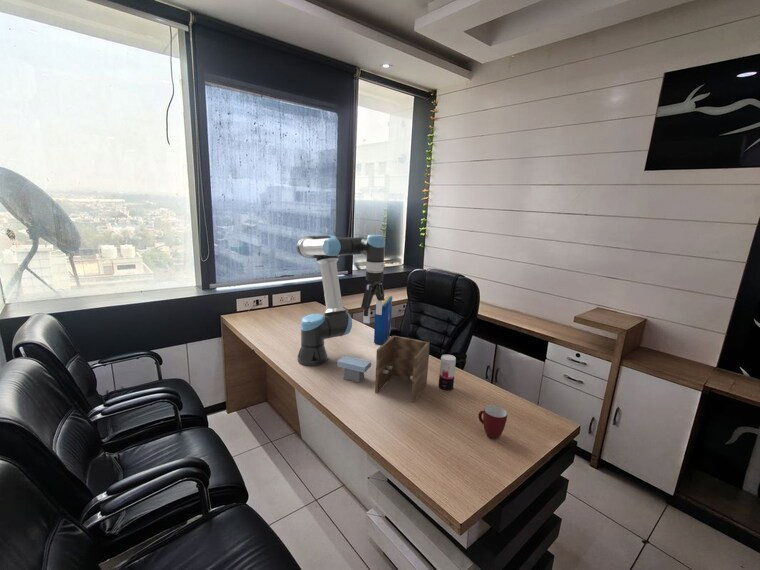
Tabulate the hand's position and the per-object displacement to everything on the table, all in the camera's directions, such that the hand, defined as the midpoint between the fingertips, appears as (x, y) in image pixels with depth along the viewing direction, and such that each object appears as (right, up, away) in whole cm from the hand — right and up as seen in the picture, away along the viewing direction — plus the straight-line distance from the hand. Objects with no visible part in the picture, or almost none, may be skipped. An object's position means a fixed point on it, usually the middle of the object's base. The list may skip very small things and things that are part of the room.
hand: (372, 318), depth 158 cm
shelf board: (-9, -23, +8) cm, 26 cm away
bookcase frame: (+13, -31, +3) cm, 34 cm away
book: (+4, -18, +60) cm, 63 cm away
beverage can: (+33, -32, +4) cm, 46 cm away
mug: (+43, -40, -28) cm, 65 cm away
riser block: (-9, -29, +9) cm, 32 cm away
